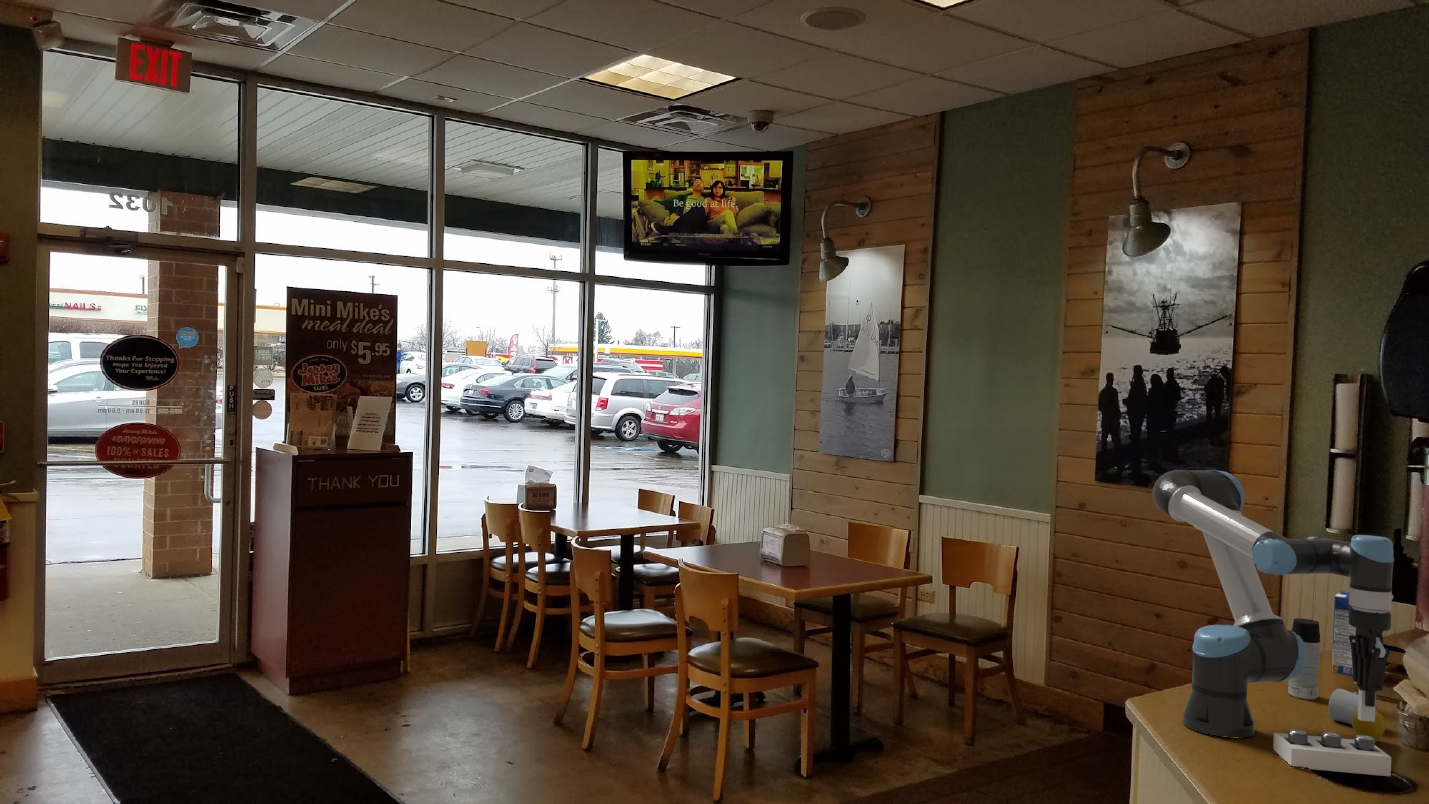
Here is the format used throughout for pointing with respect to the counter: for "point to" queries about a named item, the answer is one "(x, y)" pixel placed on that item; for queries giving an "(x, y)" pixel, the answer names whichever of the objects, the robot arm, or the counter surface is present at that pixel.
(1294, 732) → the knob
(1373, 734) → the apple
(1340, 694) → the ceramic mug
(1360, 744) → the knob
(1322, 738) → the knob mid
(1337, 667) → the beverage box
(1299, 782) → the counter surface
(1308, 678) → the spray can
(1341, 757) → the console
